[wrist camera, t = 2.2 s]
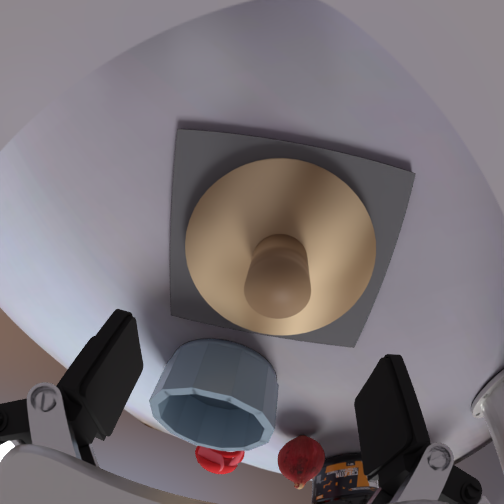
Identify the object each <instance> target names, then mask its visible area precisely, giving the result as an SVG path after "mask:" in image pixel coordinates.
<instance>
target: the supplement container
mask: <svg viewBox="0 0 504 504" xmlns="http://www.w3.org/2000/svg"><path fill="white" fill-rule="evenodd" d="M312 482H313V483H312V504H367V503H368V501H369V500H370V499H371V497H372V496H373V495H374V493H375V492H376V490H377V489H378V485H377V480H374V481H368V480H367V476H366V475H364V472H363V464H362V455H361V454H344V455H339V456H334V457H331V458H328V459H325V461H324V465H323V467H322V469H321V471H320V472H319V473H318V474H317V475H316V476H315V477H314V478H313V481H312Z"/></svg>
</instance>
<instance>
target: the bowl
mask: <svg viewBox="0 0 504 504" xmlns="http://www.w3.org/2000/svg"><path fill="white" fill-rule="evenodd" d="M278 386H279V385H278V383H277V377H276V373H275V371H274V369H273V367H272V366H271V364H270V363H269V362H268V361H267V360H266V359H265V358H264V357H263V356H261V355H260V354H259V353H257V352H256V351H254V350H252V349H250V348H248V347H246V346H244V345H241V344H238V343H235V342H231V341H227V340H221V339H199V340H194V341H190V342H188V343H185V344H184V345H182V346H180V347H179V348H178V349H177V350H176V351H175V353H174V355H173V357H172V358H171V359H170V360H169V361H168V363H167V365H166V367H165V369H164V371H163V373H162V375H161V377H160V379H159V381H158V383H157V385H156V387H155V390H154V392H153V394H152V396H151V398H150V400H149V402H150V406H151V410H152V414H153V417H154V418H155V419H156V420H157V421H158V422H159V423H160V424H161V425H162V426H164V427H165V428H166V429H167V430H168V431H169V432H170V433H172V434H174V435H176V436H178V437H180V438H182V439H184V440H186V441H188V442H190V443H192V444H194V445H198V446H202V447H206V448H211V449H215V450H220V451H247V450H251V449H254V448H256V447H259V446H262V445H264V444H266V443H268V442H269V440H270V438H271V436H272V434H273V431H274V429H275V420H276V409H277V398H278Z"/></svg>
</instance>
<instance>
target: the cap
mask: <svg viewBox="0 0 504 504" xmlns="http://www.w3.org/2000/svg"><path fill="white" fill-rule="evenodd" d="M195 454H196V458H197V461H198V463H200V465H201V466H202V467H203V468H204V469H206V470H207V471H209V472H212V473H216V474H226V473H230V472H232V471H233V470H235V469H236V467H237V464H238V463H239V462H241V461H242V459H243V457H244V451H235V452H227V451H220V450H215V449H211V448H206V447H202V446H197V448H196V451H195ZM232 457H234V458H232Z"/></svg>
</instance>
